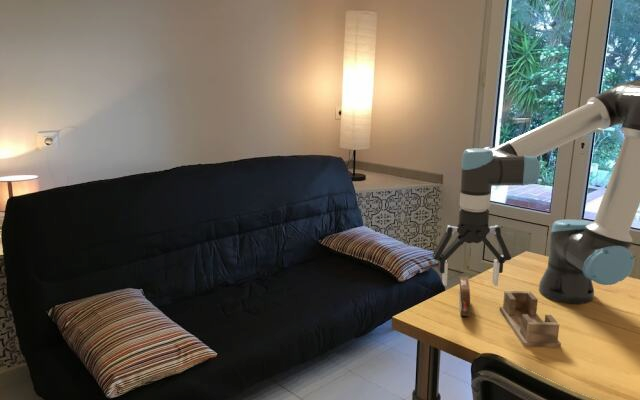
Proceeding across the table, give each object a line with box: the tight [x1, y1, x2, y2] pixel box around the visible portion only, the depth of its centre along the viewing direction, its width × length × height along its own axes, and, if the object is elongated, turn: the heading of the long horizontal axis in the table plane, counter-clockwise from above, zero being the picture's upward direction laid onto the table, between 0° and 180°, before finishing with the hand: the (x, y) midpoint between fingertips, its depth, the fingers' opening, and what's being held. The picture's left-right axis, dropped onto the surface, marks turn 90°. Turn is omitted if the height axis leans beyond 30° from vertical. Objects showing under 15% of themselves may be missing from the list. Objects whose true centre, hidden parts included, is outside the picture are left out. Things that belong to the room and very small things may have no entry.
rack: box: [499, 290, 562, 348], centre depth 137 cm, size 9×20×6 cm, turn 178°
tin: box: [458, 276, 471, 317], centre depth 148 cm, size 15×3×8 cm, turn 167°
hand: (469, 283), depth 141 cm, fingers open, 13 cm apart
